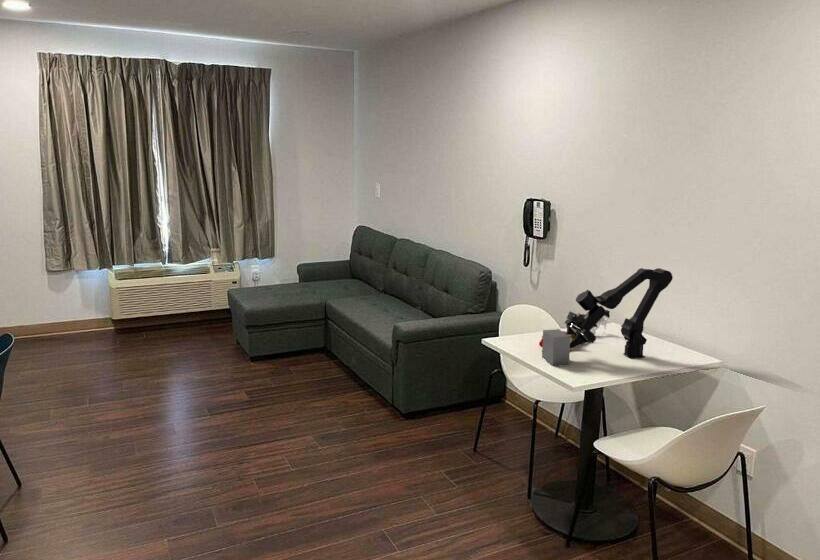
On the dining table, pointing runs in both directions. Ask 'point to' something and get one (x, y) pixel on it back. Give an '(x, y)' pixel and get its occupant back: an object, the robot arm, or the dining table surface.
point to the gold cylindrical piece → (572, 339)
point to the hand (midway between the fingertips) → (565, 345)
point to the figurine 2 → (602, 322)
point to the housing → (556, 347)
